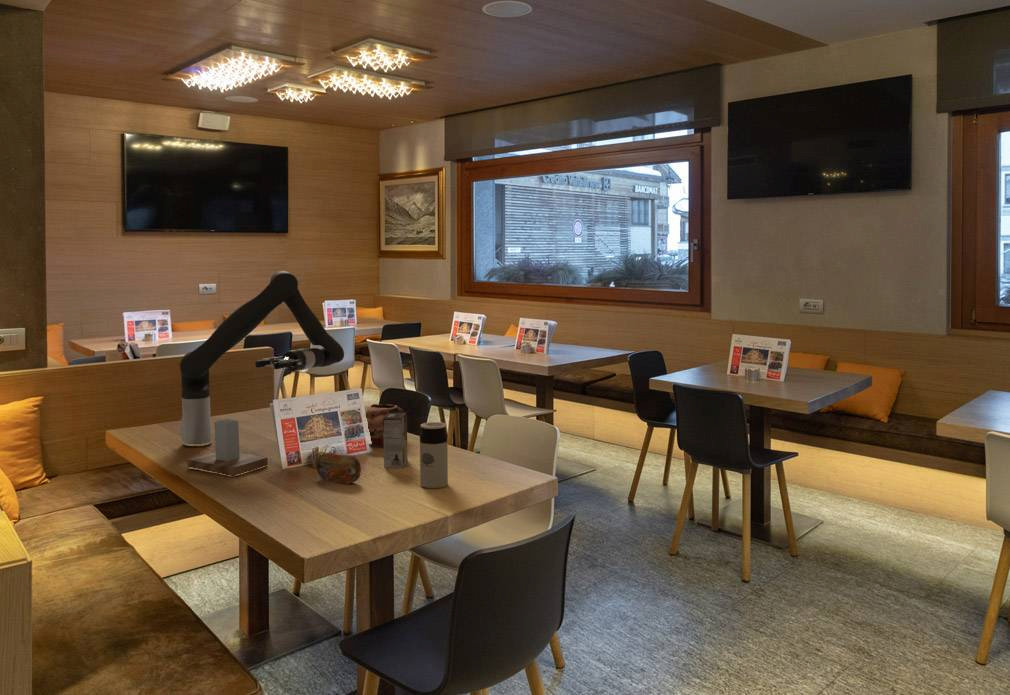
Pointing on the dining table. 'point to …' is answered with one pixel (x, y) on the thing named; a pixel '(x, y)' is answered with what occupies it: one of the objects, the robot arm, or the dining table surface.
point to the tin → (338, 468)
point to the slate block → (227, 440)
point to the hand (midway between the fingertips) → (265, 365)
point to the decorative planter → (379, 421)
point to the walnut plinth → (228, 463)
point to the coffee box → (395, 439)
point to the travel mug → (433, 455)
